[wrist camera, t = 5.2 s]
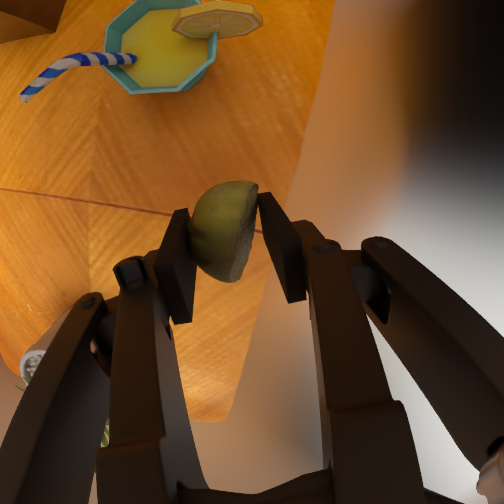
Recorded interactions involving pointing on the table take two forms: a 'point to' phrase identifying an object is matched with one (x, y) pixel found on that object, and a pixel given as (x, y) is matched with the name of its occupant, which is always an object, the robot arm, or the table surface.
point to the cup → (159, 45)
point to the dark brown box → (28, 18)
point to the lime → (224, 229)
